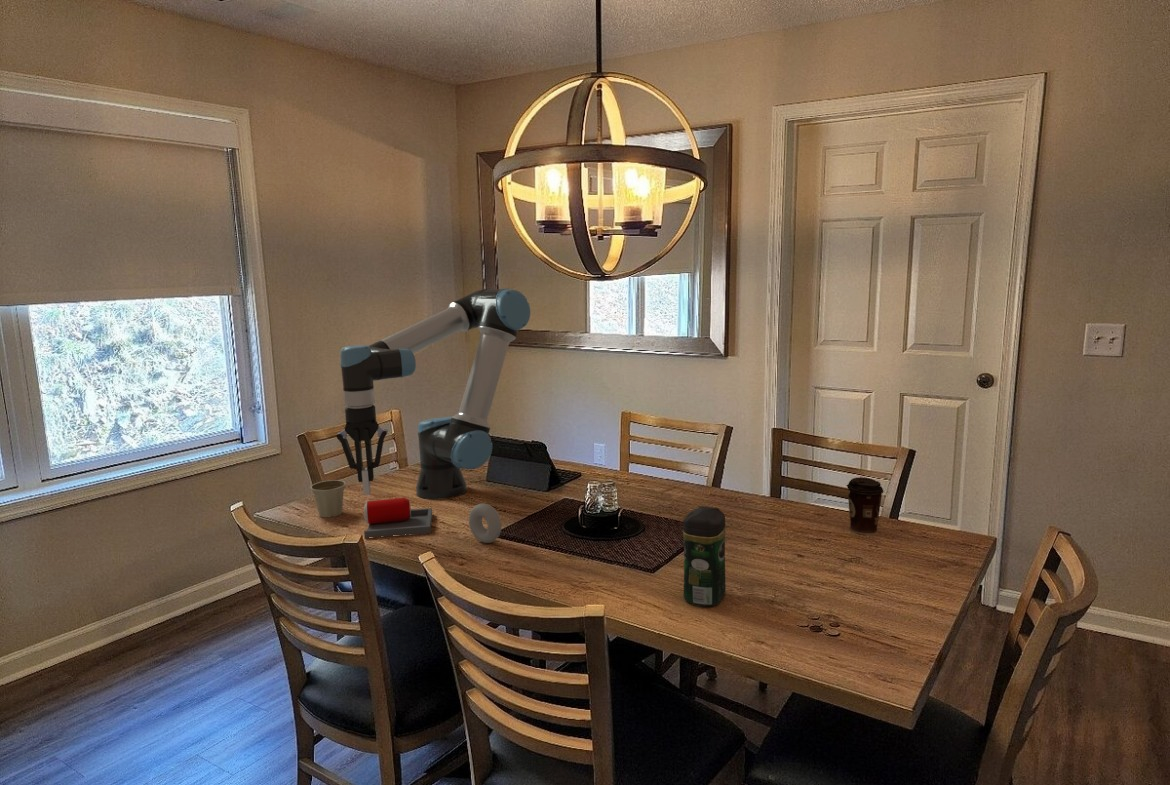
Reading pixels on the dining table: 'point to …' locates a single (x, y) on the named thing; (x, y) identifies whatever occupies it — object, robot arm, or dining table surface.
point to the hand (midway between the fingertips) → (367, 493)
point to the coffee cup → (864, 505)
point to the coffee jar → (704, 556)
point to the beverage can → (387, 510)
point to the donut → (492, 520)
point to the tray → (403, 525)
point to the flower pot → (329, 497)
